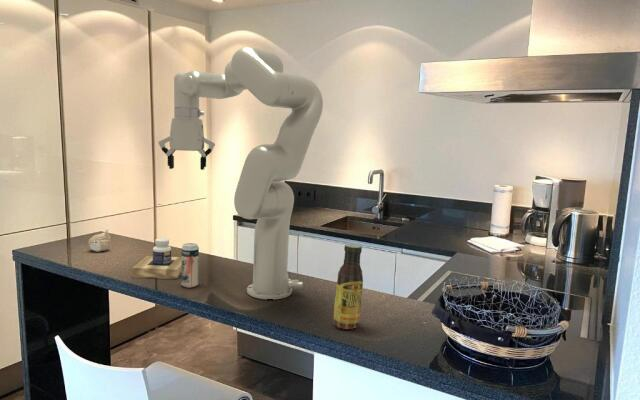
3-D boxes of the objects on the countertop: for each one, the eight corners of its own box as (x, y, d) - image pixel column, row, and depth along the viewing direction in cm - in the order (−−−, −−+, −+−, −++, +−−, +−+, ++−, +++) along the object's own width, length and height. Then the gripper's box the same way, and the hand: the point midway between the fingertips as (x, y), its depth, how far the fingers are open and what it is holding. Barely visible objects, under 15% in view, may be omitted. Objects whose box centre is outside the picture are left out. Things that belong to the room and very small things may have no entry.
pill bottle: (165, 273, 143) (165, 242, 141) (149, 271, 144) (149, 240, 142) (174, 268, 148) (174, 238, 147) (158, 266, 149) (158, 236, 148)
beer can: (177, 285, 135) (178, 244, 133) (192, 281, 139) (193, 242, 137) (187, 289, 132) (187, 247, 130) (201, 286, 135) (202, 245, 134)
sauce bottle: (339, 332, 109) (345, 249, 106) (328, 322, 115) (333, 242, 112) (364, 329, 112) (370, 247, 109) (352, 319, 117) (357, 241, 114)
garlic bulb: (98, 254, 161) (97, 231, 160) (85, 251, 164) (84, 229, 162) (113, 250, 167) (113, 228, 166) (101, 247, 170) (100, 225, 168)
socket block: (187, 266, 153) (187, 257, 152) (176, 279, 140) (177, 269, 139) (147, 264, 152) (147, 255, 152) (132, 277, 139) (132, 267, 139)
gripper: (216, 115, 151) (216, 169, 154) (161, 113, 150) (162, 167, 153) (212, 114, 144) (212, 170, 146) (155, 112, 143) (155, 169, 145)
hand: (187, 169), depth 149 cm, fingers open, 9 cm apart
